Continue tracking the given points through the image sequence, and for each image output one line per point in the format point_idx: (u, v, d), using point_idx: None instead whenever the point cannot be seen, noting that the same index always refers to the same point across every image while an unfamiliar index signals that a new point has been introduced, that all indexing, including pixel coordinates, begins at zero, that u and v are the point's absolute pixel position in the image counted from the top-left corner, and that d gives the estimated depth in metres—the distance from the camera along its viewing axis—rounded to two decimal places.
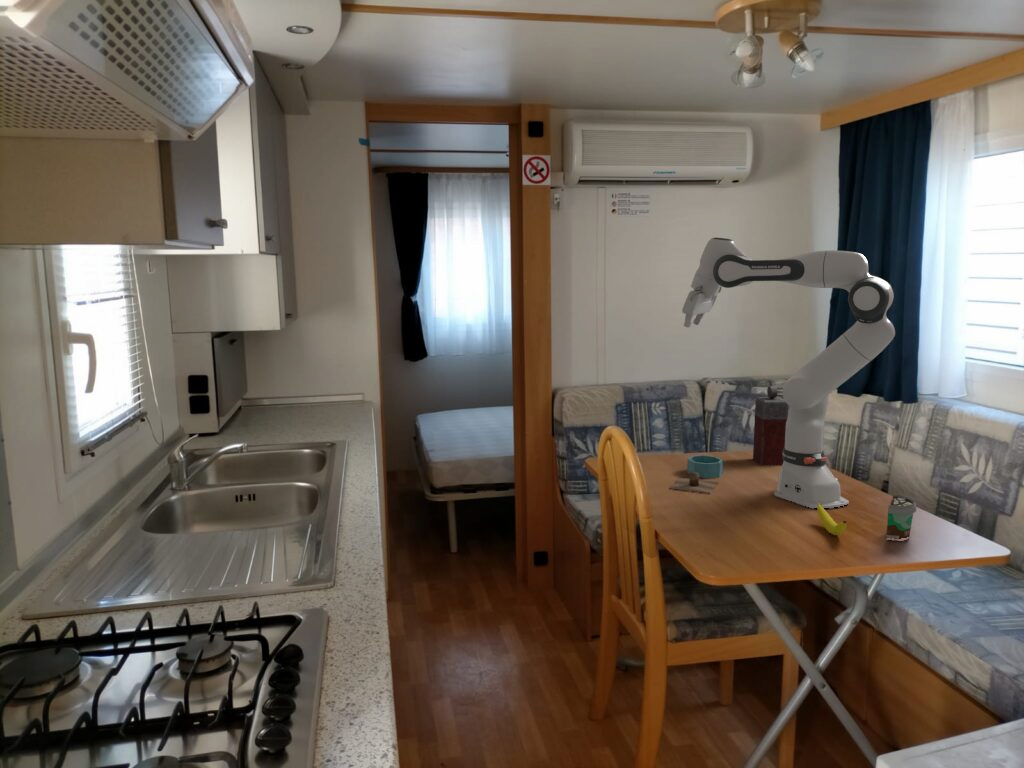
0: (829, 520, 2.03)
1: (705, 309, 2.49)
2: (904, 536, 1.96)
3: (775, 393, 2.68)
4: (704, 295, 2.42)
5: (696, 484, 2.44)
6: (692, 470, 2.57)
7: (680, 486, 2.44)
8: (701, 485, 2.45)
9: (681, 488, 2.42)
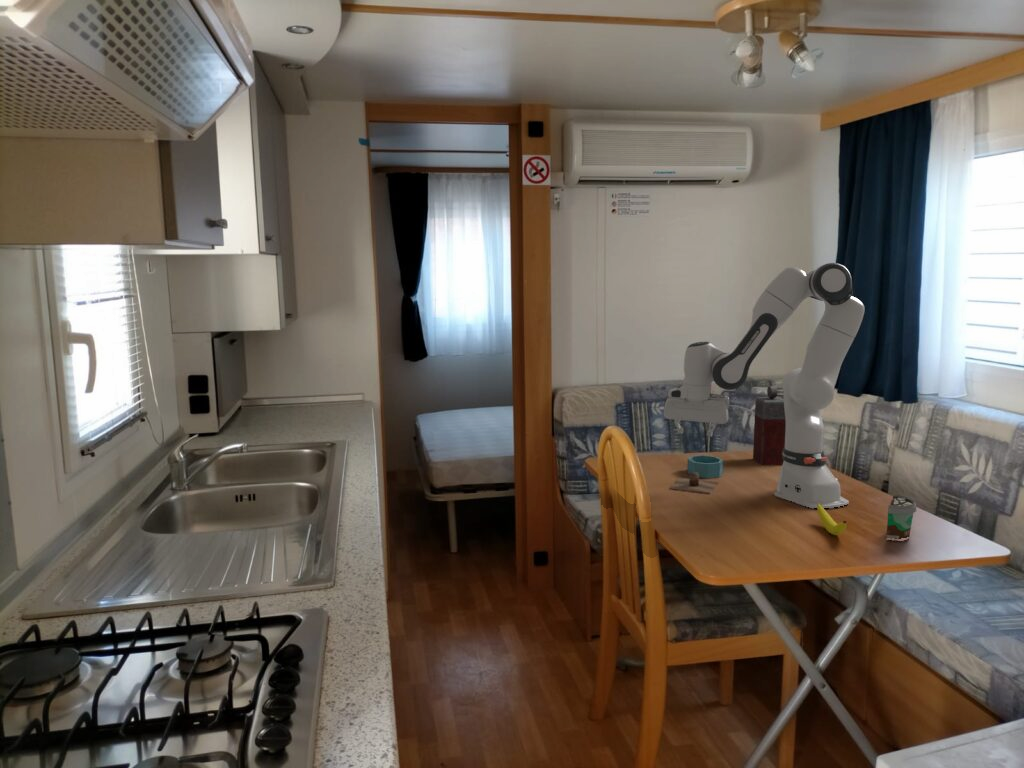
0: (829, 520, 2.03)
1: None
2: (904, 536, 1.96)
3: (775, 393, 2.68)
4: None
5: (696, 484, 2.44)
6: (692, 470, 2.57)
7: (680, 486, 2.44)
8: (701, 485, 2.45)
9: (681, 488, 2.42)
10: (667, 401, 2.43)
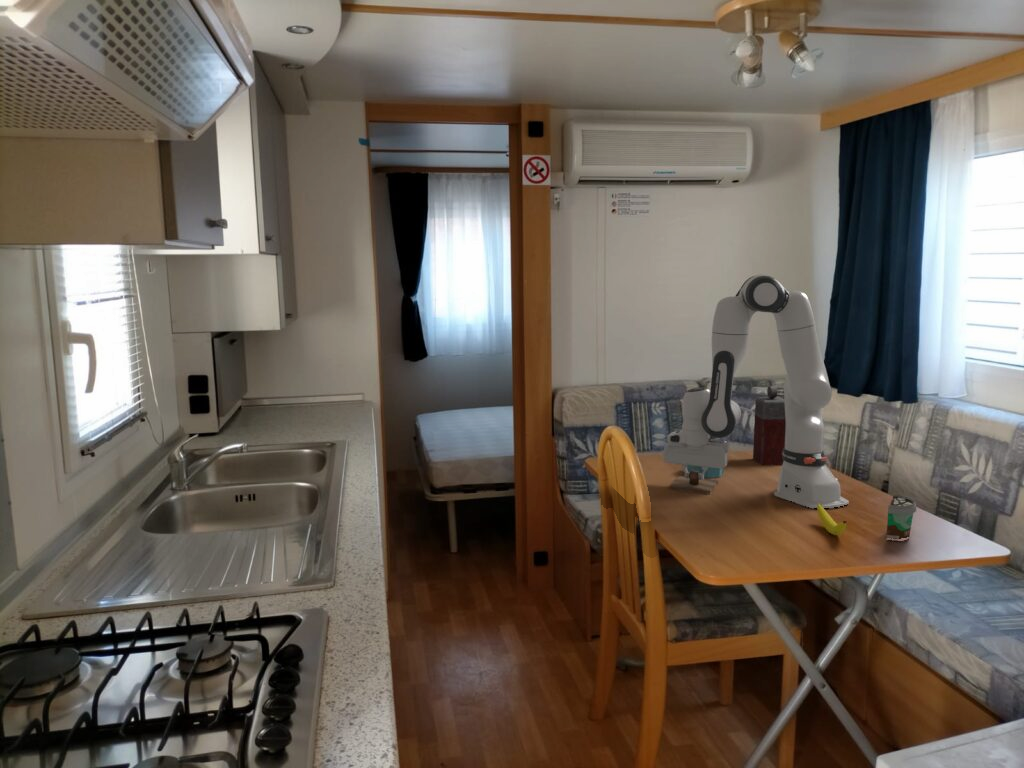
0: (829, 520, 2.03)
1: None
2: (904, 536, 1.96)
3: (775, 393, 2.68)
4: None
5: (696, 482, 2.44)
6: None
7: (680, 484, 2.44)
8: (701, 483, 2.45)
9: (681, 486, 2.42)
10: (666, 446, 2.45)
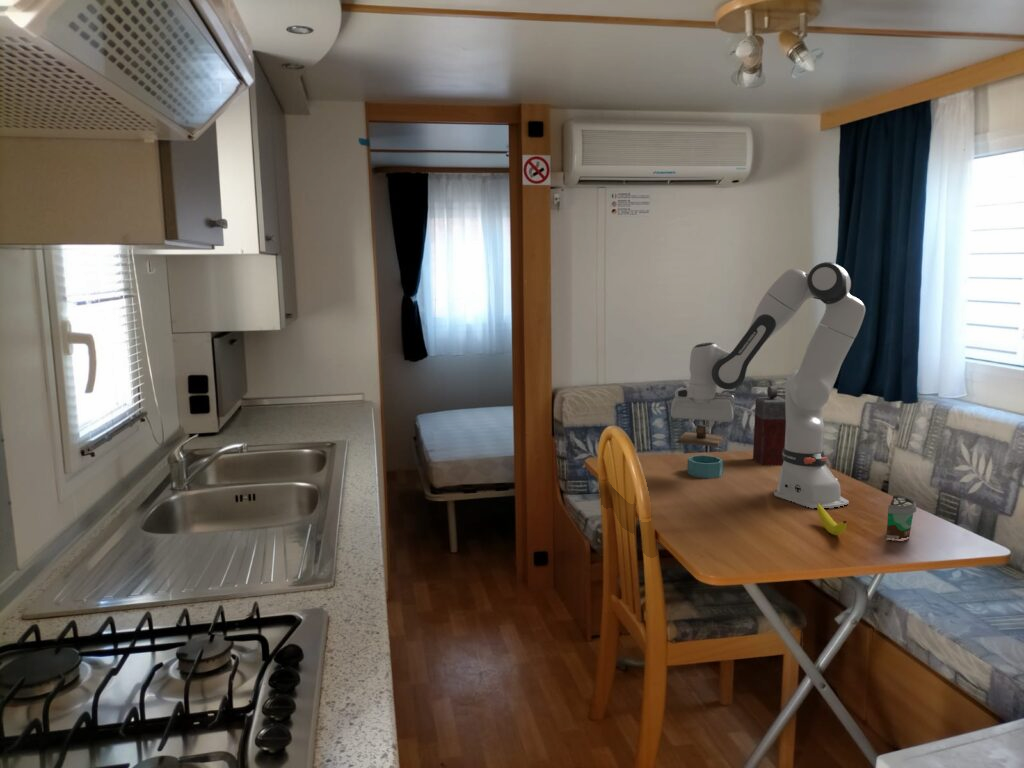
0: (829, 520, 2.03)
1: None
2: (904, 536, 1.96)
3: (775, 393, 2.68)
4: None
5: (703, 436, 2.49)
6: (692, 470, 2.57)
7: (688, 438, 2.49)
8: (708, 437, 2.50)
9: (689, 440, 2.47)
10: (674, 401, 2.50)
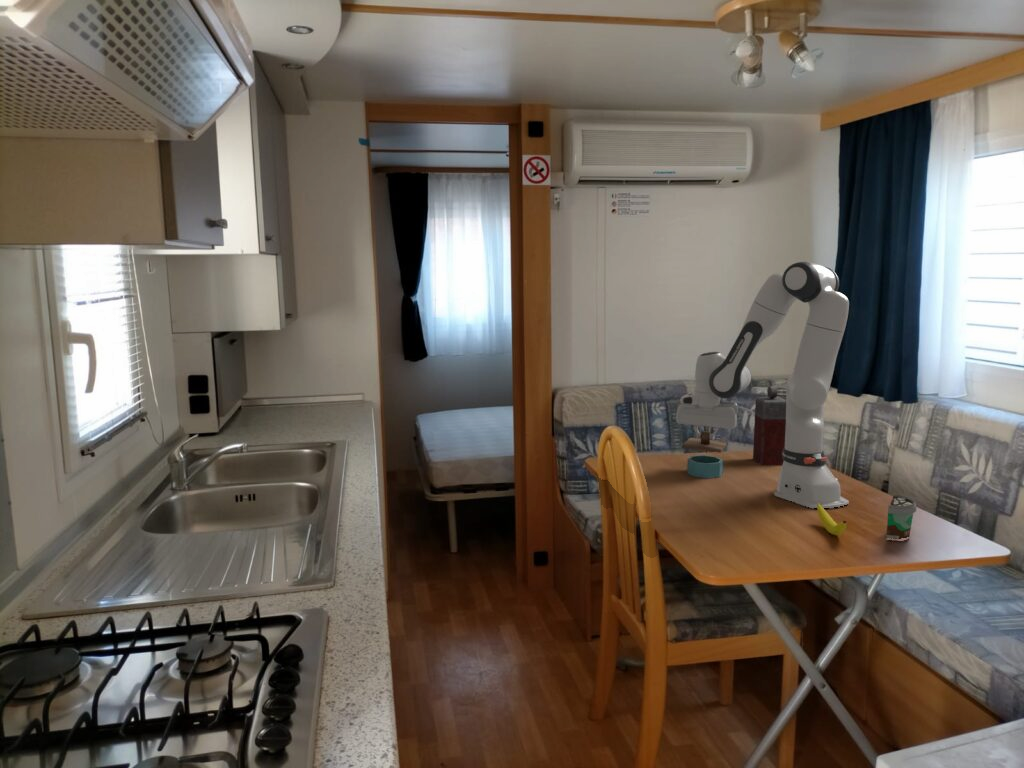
0: (829, 520, 2.03)
1: None
2: (904, 536, 1.96)
3: (775, 393, 2.68)
4: None
5: (707, 442, 2.57)
6: (692, 470, 2.57)
7: (692, 444, 2.57)
8: (712, 443, 2.58)
9: (693, 446, 2.55)
10: (679, 407, 2.58)
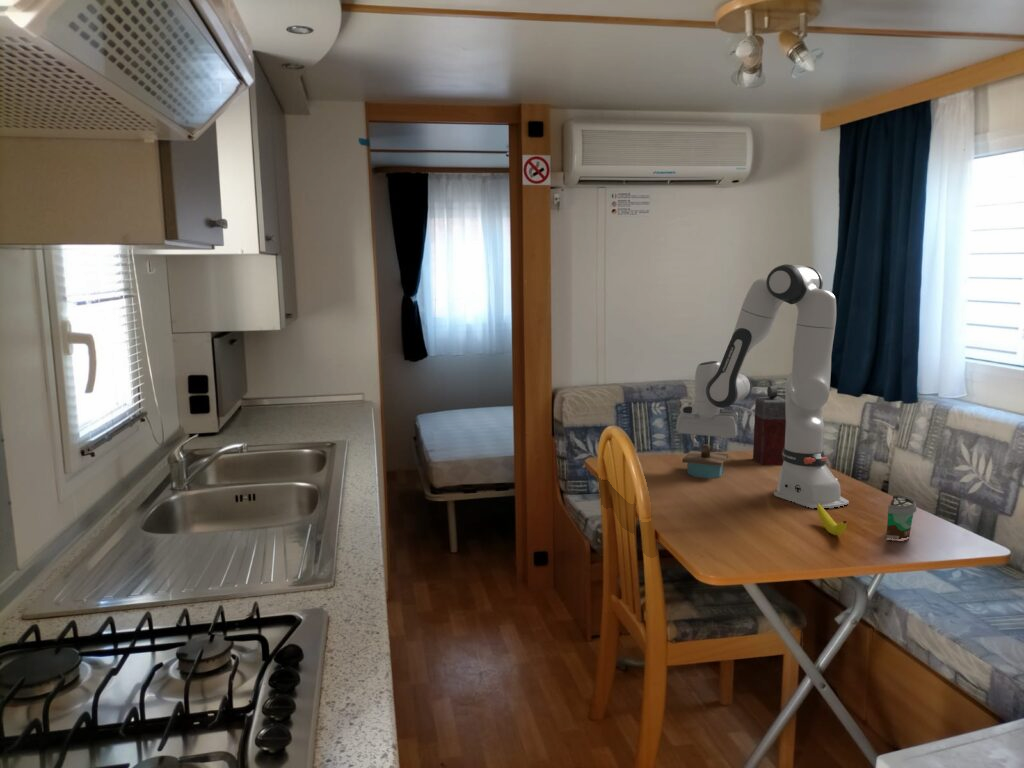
0: (829, 520, 2.03)
1: None
2: (904, 536, 1.96)
3: (775, 393, 2.68)
4: None
5: (708, 455, 2.57)
6: (692, 470, 2.57)
7: (692, 457, 2.57)
8: (712, 456, 2.58)
9: (693, 459, 2.55)
10: (679, 417, 2.58)
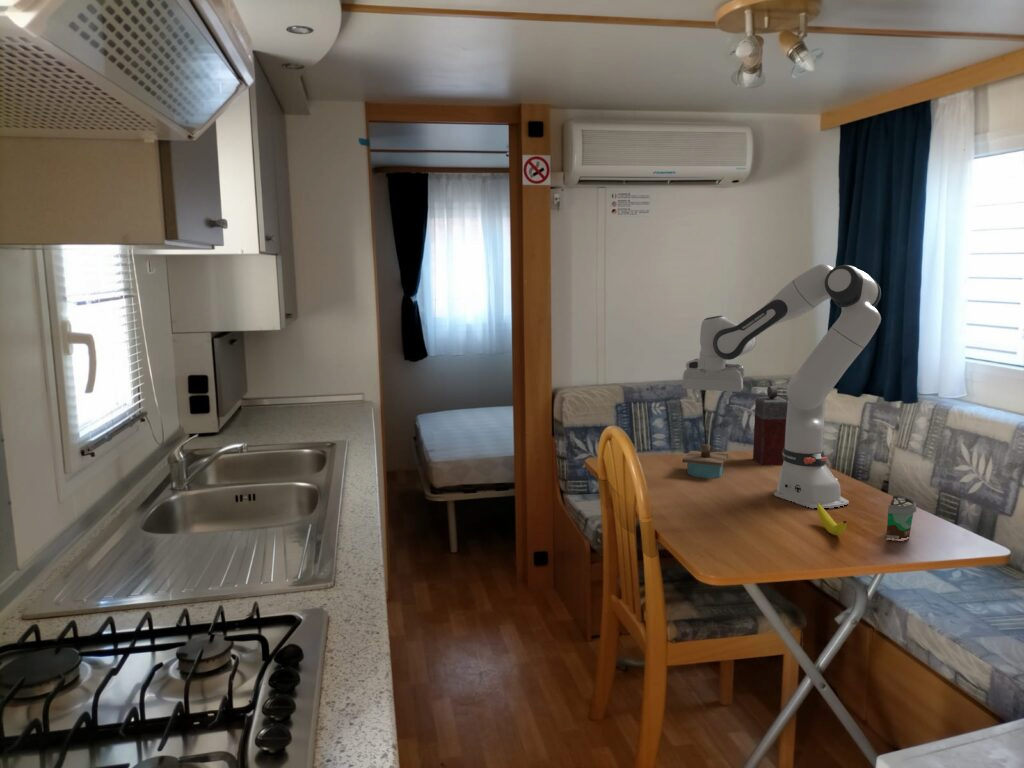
0: (829, 520, 2.03)
1: None
2: (904, 536, 1.96)
3: (775, 393, 2.68)
4: None
5: (708, 455, 2.57)
6: (692, 470, 2.57)
7: (692, 457, 2.57)
8: (712, 456, 2.58)
9: (693, 459, 2.55)
10: (685, 372, 2.59)
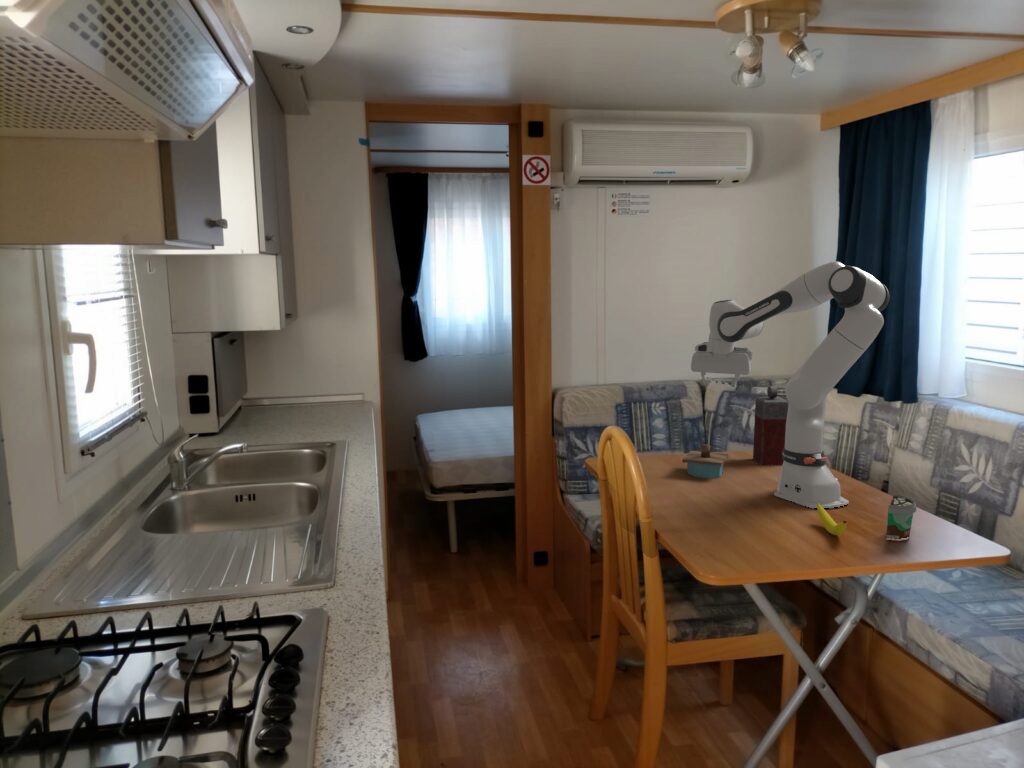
0: (829, 520, 2.03)
1: None
2: (904, 536, 1.96)
3: (775, 393, 2.68)
4: None
5: (708, 455, 2.57)
6: (692, 470, 2.57)
7: (692, 457, 2.57)
8: (712, 456, 2.58)
9: (693, 459, 2.55)
10: (694, 355, 2.64)
